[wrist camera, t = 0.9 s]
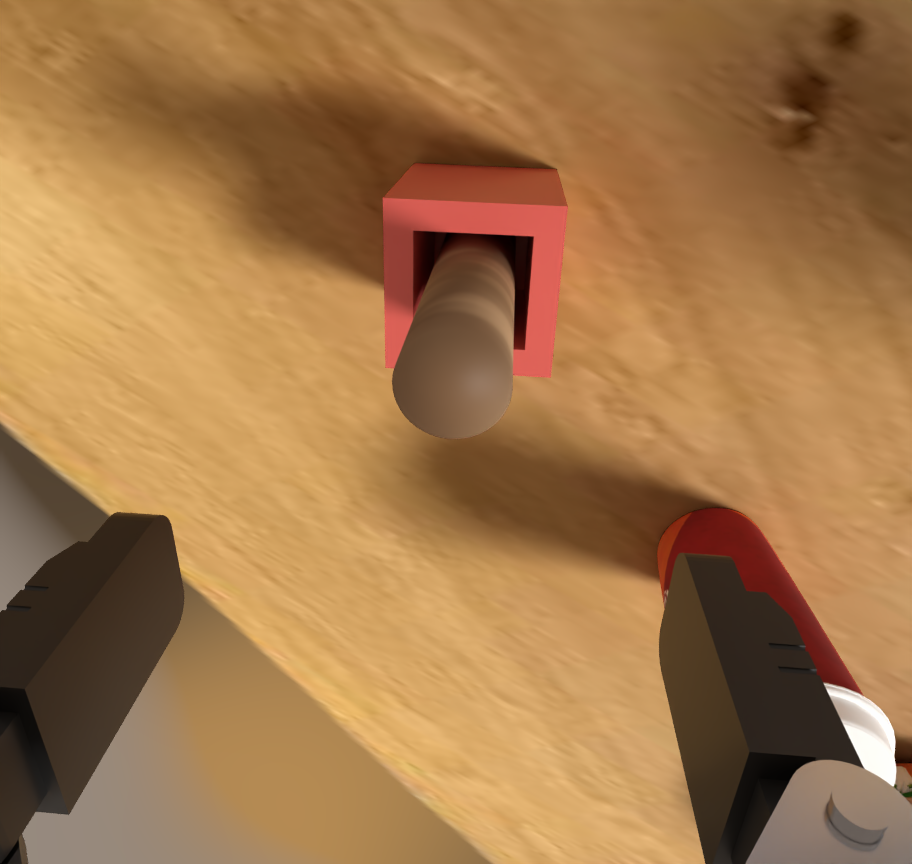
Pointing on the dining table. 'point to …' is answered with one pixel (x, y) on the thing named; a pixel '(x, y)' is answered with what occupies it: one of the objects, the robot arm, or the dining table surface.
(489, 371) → the dowel
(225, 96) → the dining table surface
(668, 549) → the paper cup
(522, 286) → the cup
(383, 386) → the dining table surface
